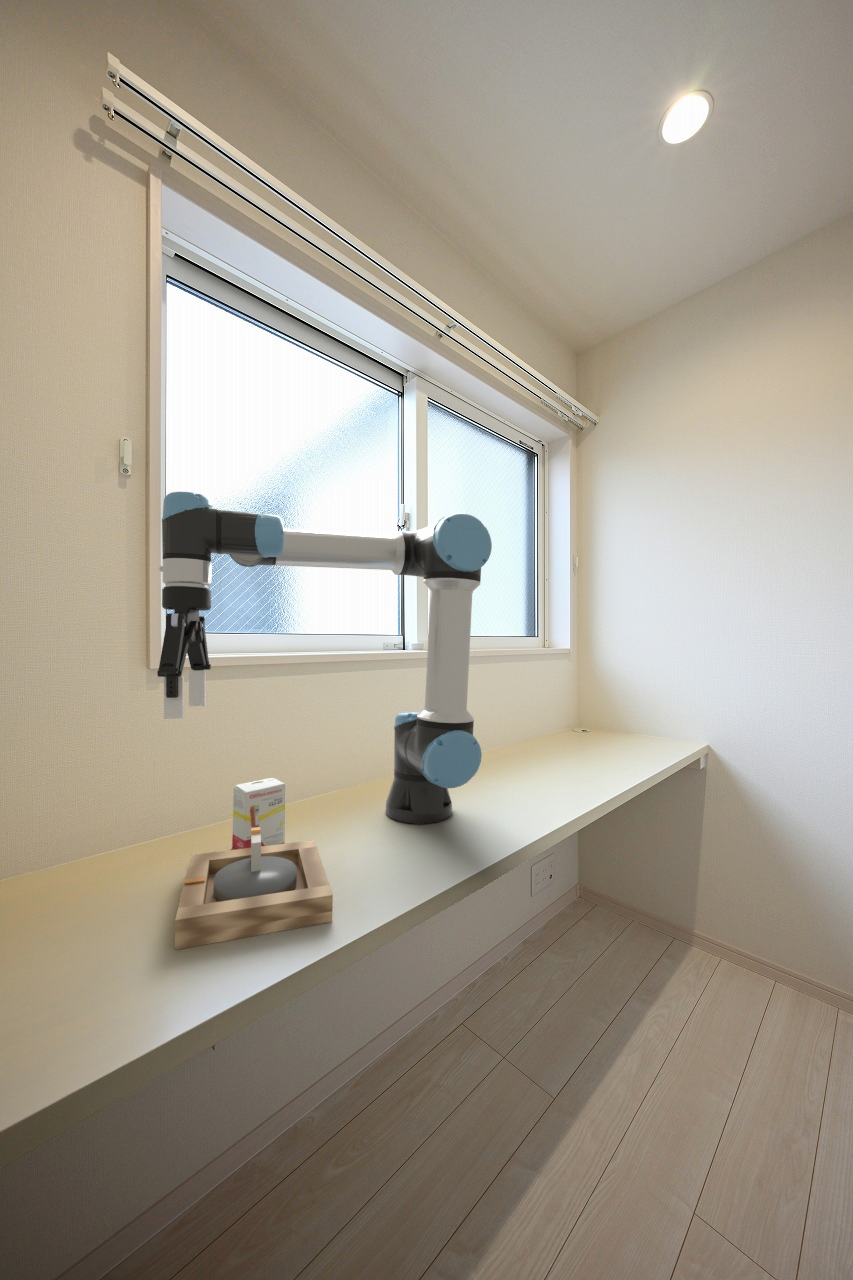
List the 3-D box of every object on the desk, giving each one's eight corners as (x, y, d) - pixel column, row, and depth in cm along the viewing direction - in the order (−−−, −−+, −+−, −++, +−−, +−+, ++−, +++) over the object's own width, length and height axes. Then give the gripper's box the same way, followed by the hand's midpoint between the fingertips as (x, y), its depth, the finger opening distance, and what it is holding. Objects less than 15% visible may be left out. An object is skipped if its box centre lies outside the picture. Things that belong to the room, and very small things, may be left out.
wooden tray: (313, 861, 90) (314, 838, 90) (332, 921, 71) (332, 892, 71) (190, 878, 83) (190, 853, 83) (174, 949, 64) (175, 917, 64)
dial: (300, 899, 74) (301, 851, 73) (210, 913, 69) (211, 863, 69) (292, 864, 85) (293, 822, 85) (215, 874, 81) (216, 830, 81)
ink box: (243, 856, 91) (244, 791, 91) (231, 848, 95) (231, 785, 95) (285, 842, 98) (286, 782, 98) (272, 835, 101) (273, 776, 101)
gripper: (185, 592, 97) (184, 702, 98) (134, 578, 73) (133, 725, 73) (226, 593, 99) (225, 701, 99) (189, 579, 74) (189, 724, 74)
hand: (186, 711), depth 86 cm, fingers open, 13 cm apart
